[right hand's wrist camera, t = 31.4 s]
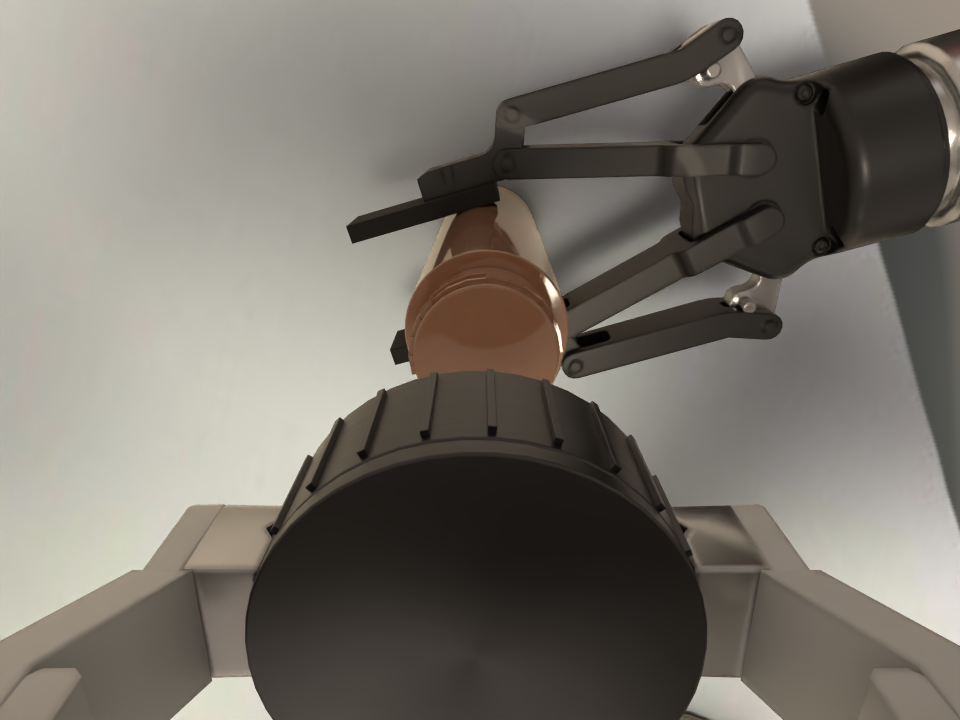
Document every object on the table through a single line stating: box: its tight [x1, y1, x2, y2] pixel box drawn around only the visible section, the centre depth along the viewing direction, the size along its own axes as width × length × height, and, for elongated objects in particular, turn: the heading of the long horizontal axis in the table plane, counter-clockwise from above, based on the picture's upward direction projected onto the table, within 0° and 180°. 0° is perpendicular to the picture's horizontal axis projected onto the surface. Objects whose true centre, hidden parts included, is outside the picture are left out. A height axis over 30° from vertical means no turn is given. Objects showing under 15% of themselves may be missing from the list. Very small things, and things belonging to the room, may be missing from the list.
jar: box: [405, 186, 569, 385], centre depth 27 cm, size 5×5×19 cm
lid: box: [245, 368, 707, 720], centre depth 9 cm, size 6×6×2 cm
